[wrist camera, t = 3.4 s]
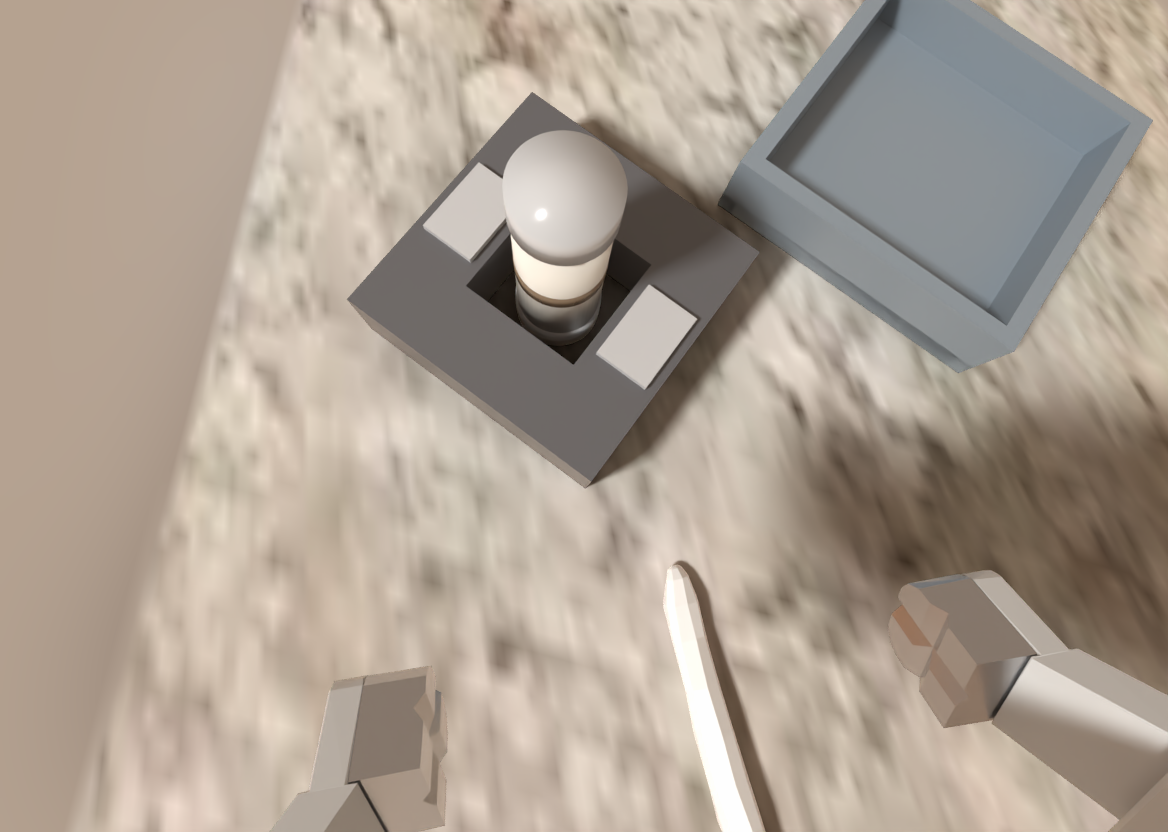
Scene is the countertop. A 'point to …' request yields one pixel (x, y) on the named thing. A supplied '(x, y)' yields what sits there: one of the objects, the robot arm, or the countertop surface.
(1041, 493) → the countertop surface
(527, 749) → the countertop surface
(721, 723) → the thin white wavy stick
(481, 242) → the block
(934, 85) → the parts tray
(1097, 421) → the countertop surface
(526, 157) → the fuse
